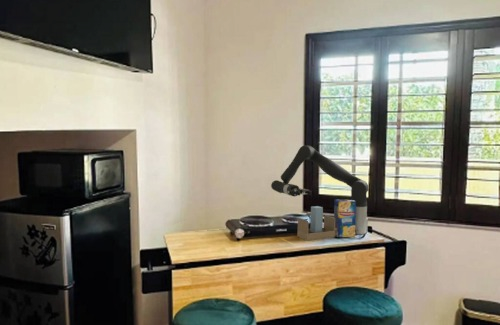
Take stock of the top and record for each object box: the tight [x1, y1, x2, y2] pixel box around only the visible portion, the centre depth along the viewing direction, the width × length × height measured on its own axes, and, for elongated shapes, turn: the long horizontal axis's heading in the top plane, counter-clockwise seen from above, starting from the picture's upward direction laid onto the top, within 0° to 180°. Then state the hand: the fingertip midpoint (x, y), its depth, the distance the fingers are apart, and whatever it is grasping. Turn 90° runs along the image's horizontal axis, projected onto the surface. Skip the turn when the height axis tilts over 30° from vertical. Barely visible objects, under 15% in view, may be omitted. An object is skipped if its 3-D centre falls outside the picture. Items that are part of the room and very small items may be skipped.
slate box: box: [309, 205, 324, 233], centre depth 225 cm, size 5×5×18 cm
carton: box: [296, 214, 336, 242], centre depth 225 cm, size 20×10×12 cm, turn 116°
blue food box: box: [333, 199, 356, 238], centre depth 230 cm, size 7×11×22 cm, turn 100°
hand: (305, 193), depth 234 cm, fingers open, 8 cm apart
